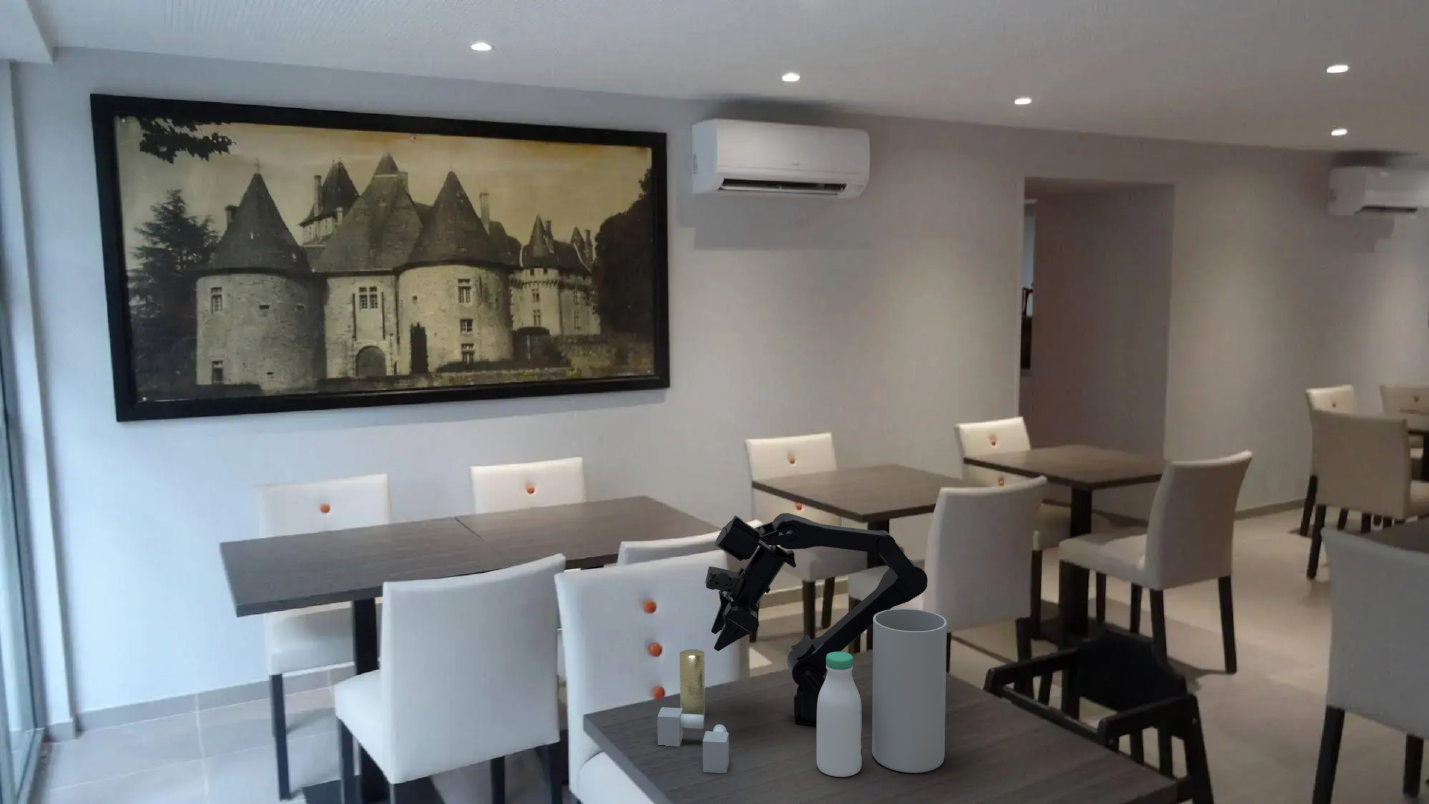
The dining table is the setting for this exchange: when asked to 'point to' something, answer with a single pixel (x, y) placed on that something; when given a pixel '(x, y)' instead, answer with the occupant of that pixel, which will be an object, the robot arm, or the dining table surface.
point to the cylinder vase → (909, 689)
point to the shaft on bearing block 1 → (675, 725)
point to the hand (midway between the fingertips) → (714, 641)
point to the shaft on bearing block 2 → (716, 750)
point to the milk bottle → (839, 719)
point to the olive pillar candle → (692, 682)
